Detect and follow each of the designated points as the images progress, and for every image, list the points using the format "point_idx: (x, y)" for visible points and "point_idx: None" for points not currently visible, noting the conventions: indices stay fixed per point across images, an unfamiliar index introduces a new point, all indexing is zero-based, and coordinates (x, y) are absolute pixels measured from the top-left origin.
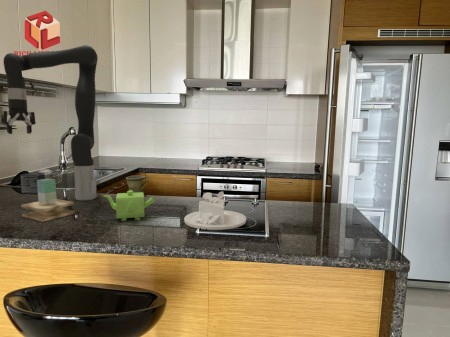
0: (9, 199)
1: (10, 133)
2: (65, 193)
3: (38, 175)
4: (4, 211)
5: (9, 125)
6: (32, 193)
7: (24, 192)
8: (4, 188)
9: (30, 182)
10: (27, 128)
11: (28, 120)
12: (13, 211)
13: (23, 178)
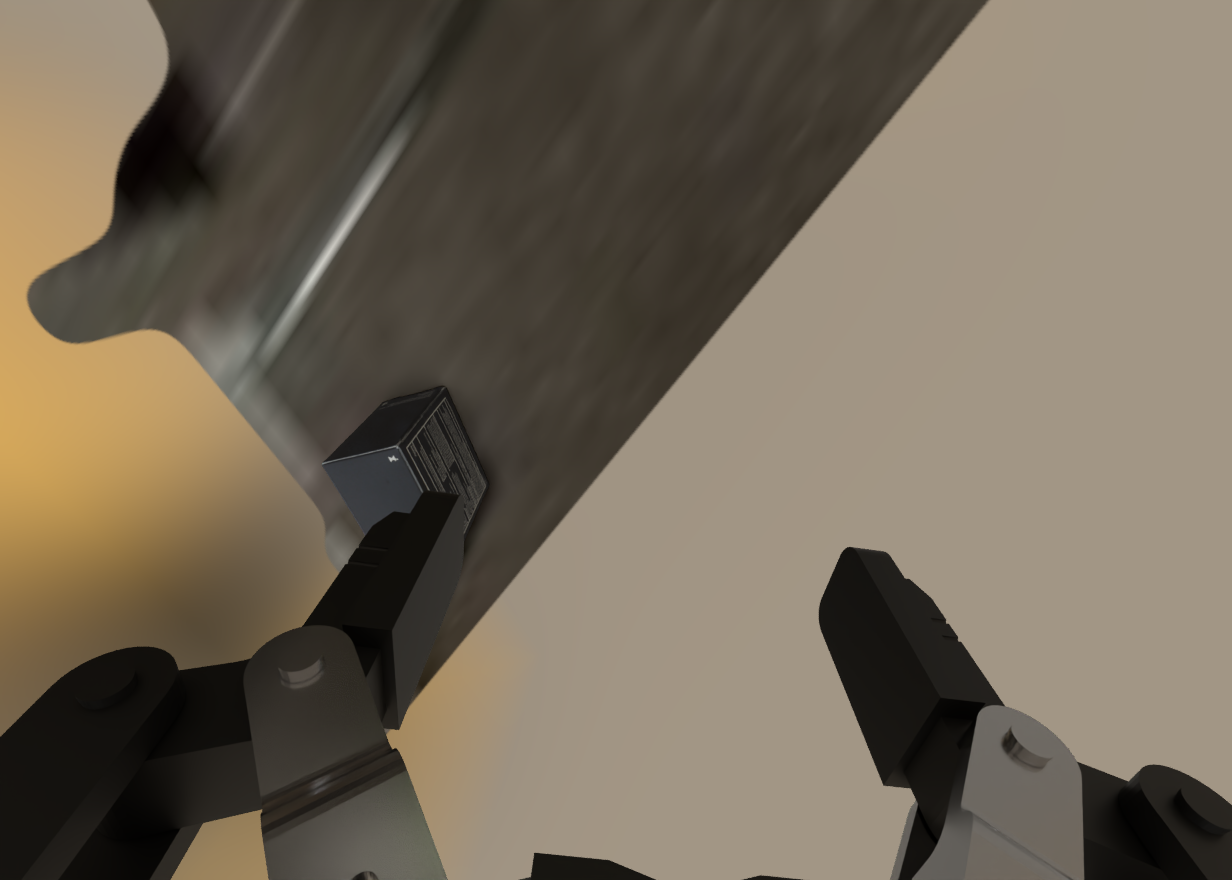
0: (619, 414)
1: (877, 561)
2: (328, 244)
3: (391, 445)
4: (863, 153)
5: (1010, 718)
6: (461, 425)
7: (480, 471)
8: (453, 652)
9: (443, 468)
10: (424, 634)
11: (329, 810)
12: (852, 91)
13: None
